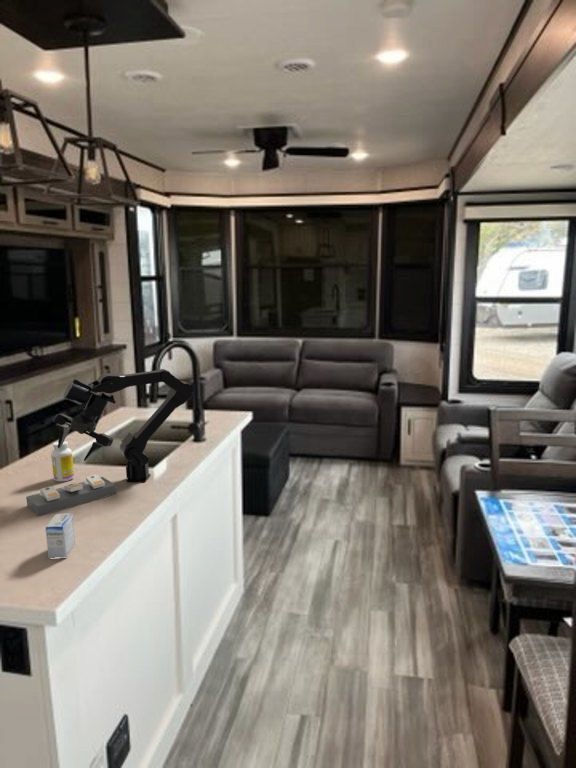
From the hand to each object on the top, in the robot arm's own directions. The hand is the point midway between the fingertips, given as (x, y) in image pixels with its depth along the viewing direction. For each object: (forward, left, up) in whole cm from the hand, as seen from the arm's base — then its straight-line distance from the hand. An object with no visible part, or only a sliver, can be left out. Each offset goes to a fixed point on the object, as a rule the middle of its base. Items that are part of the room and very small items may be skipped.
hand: (71, 454), depth 181 cm
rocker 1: (+2, +13, -8) cm, 15 cm away
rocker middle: (-3, +8, -8) cm, 12 cm away
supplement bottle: (+9, -11, -13) cm, 19 cm away
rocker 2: (-8, +3, -8) cm, 12 cm away
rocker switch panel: (-2, +7, -12) cm, 14 cm away
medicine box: (-14, +40, -13) cm, 44 cm away
